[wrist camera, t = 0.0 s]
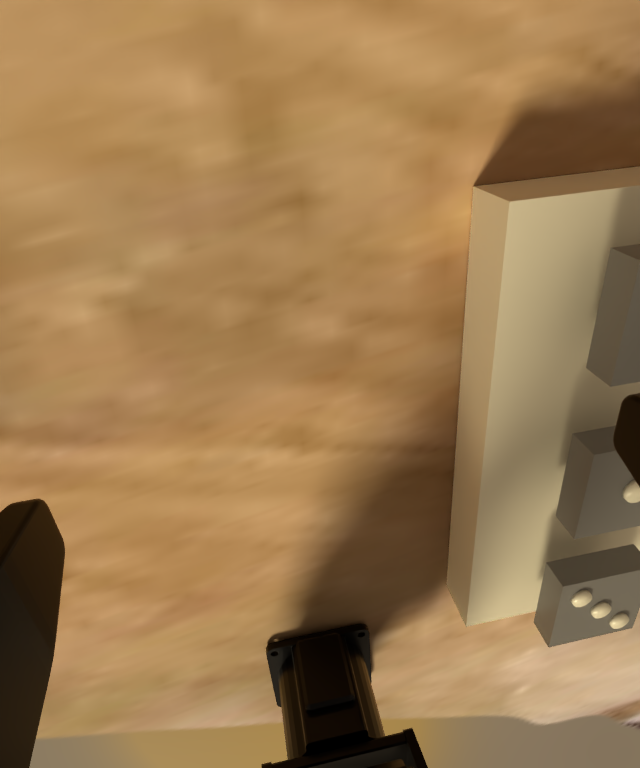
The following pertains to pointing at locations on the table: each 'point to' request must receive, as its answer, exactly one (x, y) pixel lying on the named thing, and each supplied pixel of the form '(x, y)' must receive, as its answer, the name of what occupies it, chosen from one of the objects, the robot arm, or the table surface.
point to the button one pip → (597, 487)
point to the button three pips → (589, 595)
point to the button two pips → (618, 320)
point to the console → (530, 379)
